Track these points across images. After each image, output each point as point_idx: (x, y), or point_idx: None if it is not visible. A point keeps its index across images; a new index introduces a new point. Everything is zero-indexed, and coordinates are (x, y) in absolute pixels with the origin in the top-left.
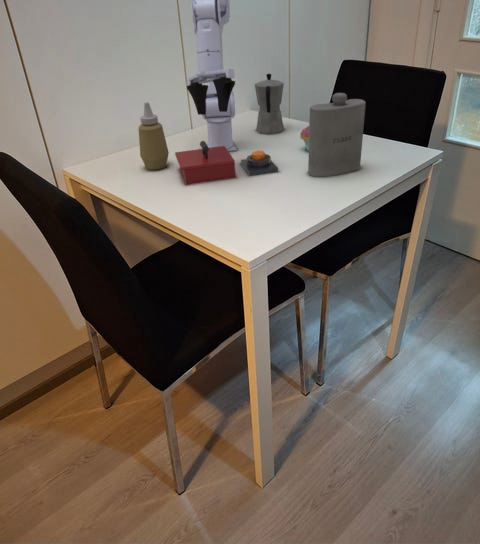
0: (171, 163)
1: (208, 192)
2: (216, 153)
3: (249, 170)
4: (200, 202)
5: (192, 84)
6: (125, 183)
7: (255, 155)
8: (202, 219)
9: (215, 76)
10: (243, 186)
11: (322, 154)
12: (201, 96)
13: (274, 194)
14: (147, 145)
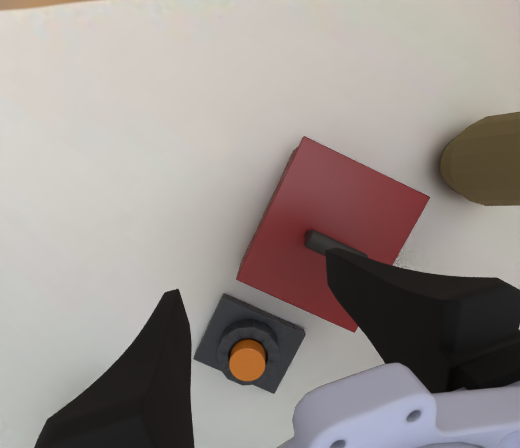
0: (453, 207)
1: (215, 164)
2: (319, 277)
3: (230, 304)
4: (180, 115)
5: (517, 354)
6: (432, 32)
7: (240, 348)
8: (99, 63)
9: None
10: (185, 245)
11: None
12: (383, 328)
13: (100, 264)
14: (509, 119)
